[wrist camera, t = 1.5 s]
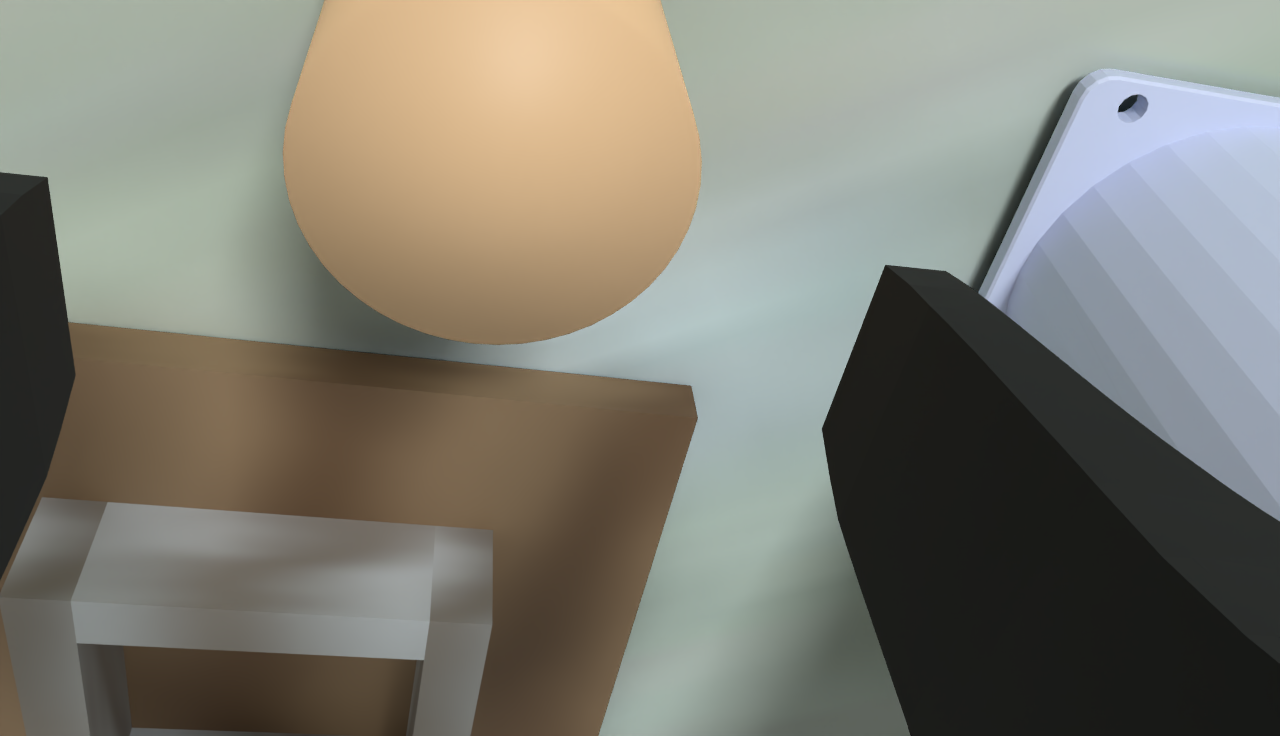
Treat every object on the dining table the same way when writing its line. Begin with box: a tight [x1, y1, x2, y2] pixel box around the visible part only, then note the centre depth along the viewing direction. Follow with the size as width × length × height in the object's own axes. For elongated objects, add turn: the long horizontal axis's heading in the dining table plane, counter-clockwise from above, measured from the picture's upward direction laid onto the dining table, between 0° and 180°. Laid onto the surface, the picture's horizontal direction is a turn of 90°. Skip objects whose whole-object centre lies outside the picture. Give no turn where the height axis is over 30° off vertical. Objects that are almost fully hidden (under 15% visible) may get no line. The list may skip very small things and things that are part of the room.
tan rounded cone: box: [283, 0, 702, 345], centre depth 15 cm, size 4×4×7 cm
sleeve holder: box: [0, 322, 698, 736], centre depth 25 cm, size 16×16×4 cm
